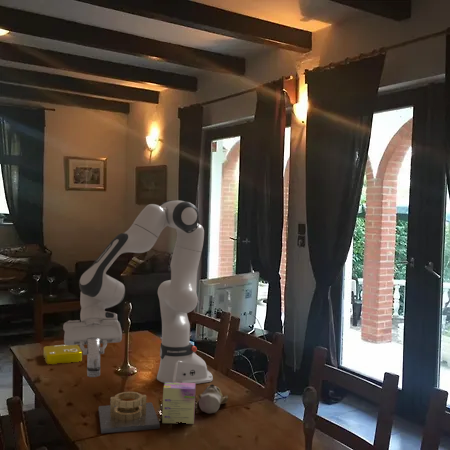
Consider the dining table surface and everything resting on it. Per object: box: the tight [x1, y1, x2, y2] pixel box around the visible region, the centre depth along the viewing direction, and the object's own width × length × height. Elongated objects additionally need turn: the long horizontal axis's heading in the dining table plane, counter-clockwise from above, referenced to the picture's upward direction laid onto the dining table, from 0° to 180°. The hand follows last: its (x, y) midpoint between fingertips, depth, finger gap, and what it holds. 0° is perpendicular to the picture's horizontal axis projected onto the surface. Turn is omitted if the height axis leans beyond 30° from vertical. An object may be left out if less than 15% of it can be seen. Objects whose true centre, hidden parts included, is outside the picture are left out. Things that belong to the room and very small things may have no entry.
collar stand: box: [98, 391, 161, 434], centre depth 174 cm, size 18×18×8 cm
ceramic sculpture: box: [198, 384, 229, 414], centre depth 187 cm, size 11×9×15 cm
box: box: [161, 382, 196, 425], centre depth 175 cm, size 10×6×12 cm, turn 92°
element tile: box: [42, 344, 83, 365], centre depth 236 cm, size 15×15×5 cm
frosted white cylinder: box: [86, 337, 101, 378], centre depth 188 cm, size 5×5×13 cm
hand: (93, 353), depth 188 cm, fingers closed on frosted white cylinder, 4 cm apart
